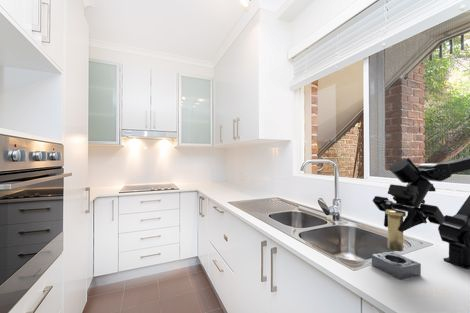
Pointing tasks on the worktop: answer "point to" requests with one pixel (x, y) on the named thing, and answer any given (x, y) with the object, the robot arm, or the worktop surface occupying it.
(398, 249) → the brass flanged cylinder
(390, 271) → the jig
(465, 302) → the worktop surface
